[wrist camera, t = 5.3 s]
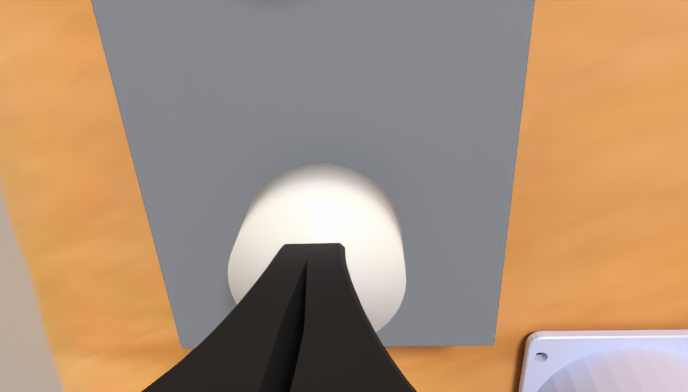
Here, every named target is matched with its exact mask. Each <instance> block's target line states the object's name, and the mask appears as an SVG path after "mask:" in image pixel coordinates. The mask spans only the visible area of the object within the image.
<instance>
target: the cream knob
mask: <svg viewBox="0 0 688 392" xmlns="http://www.w3.org/2000/svg"><path fill="white" fill-rule="evenodd" d="M310 243H341V244H342V245H343V246H344V247H345V256H346V263H347V267H348V271H349V274H350V277H351V280H352V283H353V286H354V288H355V291H356V293H357V295H358V298H359V300H360V303H361V305H362V307H363V309H364V311H365V313H366V315H367V317H368V319H369V321H370V323H371V325H372V327H373V329H374V330H375V332H377V331H379V330H380V329H381V328H382V327H384V326H385V325H386V324H387V323H388V322H389V321H390V320H391V319H392V317H393V316H394V315H395V313H396V312H397V310H398V309H399V307H400V305H401V302H402V300H403V297H404V293H405V289H406V270H405V261H404V252H403V243H402V234H401V225H400V220H399V215H398V212H397V210H396V207H395V205H394V204H393V202H392V200H391V198H390V197H389V196H388V194H387V193H386V192H385V191H384V190H383V189H382V188H381V187H380V186H379V185H378V184H377V183H376V182H375V181H373V180H372V179H370V178H369V177H367V176H366V175H364V174H362V173H360V172H358V171H356V170H353V169H351V168H348V167H344V166H341V165H335V164H329V163H313V164H304V165H300V166H295V167H292V168H290V169H287V170H285V171H283V172H281V173H279V174H277V175H275V176H274V177H272V178H271V179H269V180H268V181H267V182H266V183H265V184H264V185H263V186H262V187H261V188H260V189H259V190H258V191H257V193H256V194H255V196H254V197H253V199H252V201H251V203H250V205H249V208H248V210H247V213H246V215H245V218H244V221H243V223H242V226H241V229H240V231H239V234H238V236H237V239H236V242H235V244H234V247H233V250H232V252H231V255H230V259H229V263H228V282H229V287H230V290H231V294H232V296H233V298H234V300H235V302H236V304H238V303H239V302H240V301H241V300H242V298H243V297H244V296H245V295H246V293H247V292H248V291H249V290H250V289H251V287H252V286H253V285H254V284H255V282H256V281H257V280H258V279H259V277H260V276H261V275H262V273H263V272H264V271H265V269H266V268H267V267H268V265H269V264H270V262H271V261H272V260H273V258H274V257H275V255H276V254H277V252H278V251H279V250H280V248H281V247H282V246H283V245H284V244H310Z"/></svg>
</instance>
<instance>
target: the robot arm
mask: <svg viewBox="0 0 688 392" xmlns="http://www.w3.org/2000/svg"><path fill="white" fill-rule="evenodd" d="M541 352H542V354H539V355H536V354H537V353H541ZM142 392H417V391H416V390H415V389H414V388H413V386H412V385H411V384H410V383H409V382H408V380H407V379H406V378H405V377H404V375H403V374H402V372H401V371H400V370H399V368H398V367H397V365H396V364H395V362H394V361H393V360H392V358H391V357H390V355H389V353H388V352H387V350H386V349H385V347H384V346H383V344H382V342H381V341H380V339H379V337H378V336H377V334H376V332H375V330H374V329H373V327H372V325H371V323H370V321H369V319H368V317H367V315H366V313H365V311H364V309H363V307H362V305H361V303H360V300H359V298H358V295H357V293H356V291H355V288H354V286H353V283H352V280H351V277H350V274H349V271H348V267H347V263H346V256H345V247H344V246H343V245H342V244H341V243H310V244H284V245H283V246H282V247H281V248H280V250H279V251H278V252H277V254H276V255H275V257H274V258H273V260H272V261H271V262H270V264H269V265H268V267H267V268H266V269H265V271H264V272H263V273H262V275H261V276H260V277H259V279H258V280H257V281H256V282H255V284H254V285H253V286H252V287H251V289H250V290H249V291H248V292H247V293H246V295H245V296H244V297H243V298H242V300H241V301H240V302H239V303H238V304H237V305H236V307H235V308H234V309H233V310H232V311H231V312H230V313H229V314H228V315H227V316H226V317H225V319H224V320H223V321H222V322H221V323H220V324H219V325H218V326H217V327H216V328H215V329H214V330H213V331H212V332H211V333H210V334H209V335H208V336H207V337H206V338H205V339H204V340H203V341H202V342H201V343H200V344H199V345H198V346H197V347H196V348H195V349H194V350H193V351H191V352H190V353H189V354H188V355H187V356H186V357H185V358H184V359H183V360H181V361H180V362H179V363H178V364H177V365H175V366H174V367H173V368H171V369H170V370H169V371H168V372H166V373H165V374H164V375H162V376H161V377H160V378H159V379H157V380H156V381H155V382H153V383H152V384H151V385H150V386H148V387H147V388H146V389H144V390H143V391H142ZM518 392H688V330H598V331H539V332H535V333H533V334H531V335H530V336H529V337H528V338H527V341H526V346H525V353H524V359H523V365H522V372H521V378H520V385H519V391H518Z"/></svg>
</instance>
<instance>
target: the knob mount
mask: <svg viewBox="0 0 688 392" xmlns="http://www.w3.org/2000/svg"><path fill="white" fill-rule="evenodd" d="M91 2H92V6H93V10H94V13H95V17H96V21H97V25H98V29H99V33H100V36H101V40H102V44H103V48H104V52H105V56H106V59H107V63H108V67H109V71H110V75H111V79H112V83H113V86H114V90H115V94H116V98H117V102H118V106H119V109H120V113H121V117H122V121H123V125H124V129H125V132H126V136H127V140H128V144H129V148H130V152H131V156H132V159H133V163H134V167H135V171H136V175H137V179H138V182H139V186H140V190H141V194H142V198H143V202H144V205H145V209H146V213H147V217H148V221H149V225H150V228H151V232H152V236H153V240H154V244H155V248H156V252H157V255H158V259H159V263H160V267H161V271H162V275H163V278H164V282H165V286H166V290H167V294H168V298H169V301H170V305H171V309H172V313H173V317H174V321H175V324H176V328H177V332H178V336H179V340H180V344H181V348H196V347H197V346H198V345H199V344H200V343H201V342H202V341H203V340H204V339H205V338H206V337H207V336H208V335H209V334H210V333H211V332H212V331H213V330H214V329H215V328H216V327H217V326H218V325H219V324H220V323H221V322H222V321H223V320H224V319H225V317H226V316H227V315H228V314H229V313H230V312H231V311H232V310H233V309H234V308H235V307H236V305H237V304H236V302H235V300H234V298H233V296H232V294H231V290H230V287H229V282H228V263H229V259H230V255H231V252H232V250H233V247H234V244H235V242H236V239H237V236H238V234H239V231H240V229H241V226H242V223H243V221H244V218H245V215H246V213H247V210H248V208H249V205H250V203H251V201H252V199H253V197H254V196H255V194H256V193H257V191H258V190H259V189H260V188H261V187H262V186H263V185H264V184H265V183H266V182H267V181H268V180H269V179H271V178H272V177H274V176H275V175H277V174H279V173H281V172H283V171H285V170H287V169H290V168H292V167H295V166H300V165H304V164H313V163H329V164H335V165H341V166H344V167H348V168H351V169H353V170H356V171H358V172H360V173H362V174H364V175H366V176H367V177H369V178H370V179H372V180H373V181H375V182H376V183H377V184H378V185H379V186H380V187H381V188H382V189H383V190H384V191H385V192H386V193H387V194H388V196H389V197H390V198H391V200H392V202H393V204H394V205H395V207H396V210H397V212H398V215H399V220H400V225H401V234H402V243H403V252H404V261H405V270H406V289H405V293H404V297H403V300H402V302H401V305H400V307H399V309H398V310H397V312H396V313H395V315H394V316H393V317H392V319H391V320H390V321H389V322H388V323H387V324H386V325H385V326H384V327H382V328H381V329H380V330H379V331H377V332H376V334H377V336H378V337H379V339H380V341H381V342H382V344H383V346H384V347H387V346H491V345H494V341H495V333H496V324H497V316H498V308H499V299H500V291H501V282H502V274H503V265H504V257H505V248H506V240H507V231H508V223H509V215H510V206H511V198H512V189H513V181H514V172H515V164H516V155H517V147H518V138H519V130H520V121H521V113H522V105H523V96H524V88H525V79H526V71H527V62H528V54H529V45H530V37H531V28H532V20H533V12H534V3H535V0H91Z"/></svg>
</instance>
